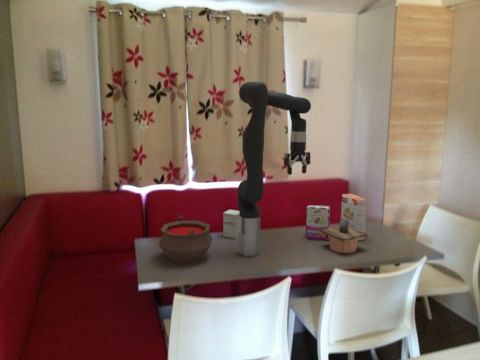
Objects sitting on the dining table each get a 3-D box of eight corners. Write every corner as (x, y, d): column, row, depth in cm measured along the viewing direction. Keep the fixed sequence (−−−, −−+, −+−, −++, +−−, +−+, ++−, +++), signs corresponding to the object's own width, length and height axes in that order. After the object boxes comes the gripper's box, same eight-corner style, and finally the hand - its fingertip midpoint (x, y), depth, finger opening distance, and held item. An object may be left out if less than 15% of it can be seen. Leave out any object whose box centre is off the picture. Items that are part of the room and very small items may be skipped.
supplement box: (222, 236, 210) (222, 212, 208) (229, 232, 217) (229, 209, 214) (235, 239, 207) (235, 214, 204) (242, 234, 213) (242, 210, 211)
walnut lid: (343, 241, 184) (343, 227, 183) (320, 231, 197) (321, 218, 195) (367, 235, 191) (368, 222, 190) (344, 227, 204) (344, 214, 203)
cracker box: (339, 232, 217) (341, 193, 213) (349, 231, 219) (351, 193, 215) (354, 241, 204) (356, 200, 200) (365, 240, 206) (367, 199, 202)
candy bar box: (328, 237, 210) (330, 206, 207) (327, 240, 205) (329, 208, 202) (306, 235, 213) (307, 204, 210) (305, 238, 208) (306, 206, 205)
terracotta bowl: (342, 254, 187) (343, 239, 186) (324, 246, 197) (325, 232, 196) (361, 249, 193) (362, 235, 192) (343, 242, 203) (343, 228, 202)
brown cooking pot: (154, 251, 190) (153, 216, 187) (205, 245, 198) (204, 211, 195) (164, 271, 168) (163, 232, 165) (220, 263, 176) (220, 226, 173)
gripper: (290, 142, 193) (289, 176, 197) (314, 140, 200) (313, 174, 204) (281, 140, 200) (280, 173, 203) (305, 139, 207) (303, 171, 210)
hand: (296, 173), depth 203 cm, fingers open, 8 cm apart
